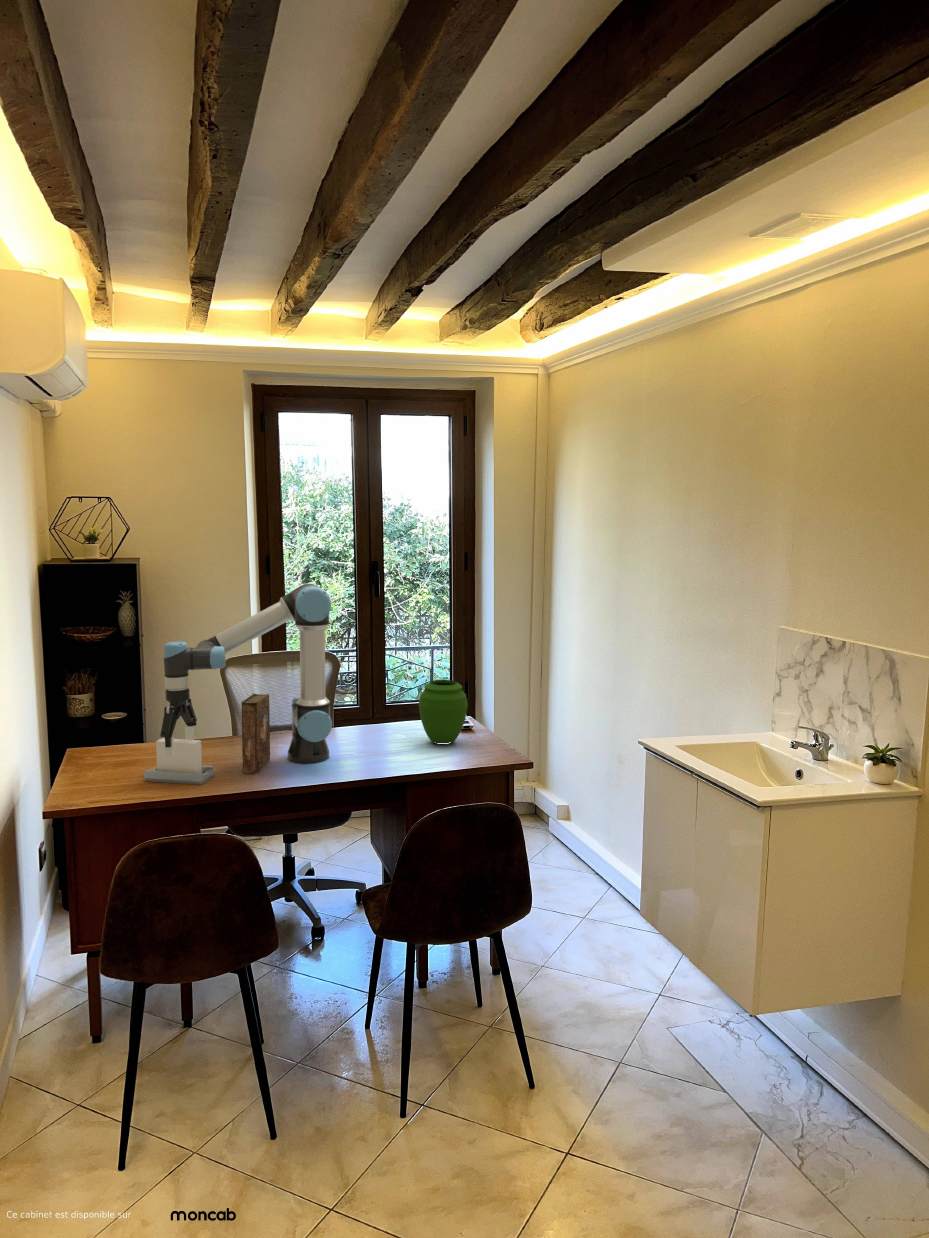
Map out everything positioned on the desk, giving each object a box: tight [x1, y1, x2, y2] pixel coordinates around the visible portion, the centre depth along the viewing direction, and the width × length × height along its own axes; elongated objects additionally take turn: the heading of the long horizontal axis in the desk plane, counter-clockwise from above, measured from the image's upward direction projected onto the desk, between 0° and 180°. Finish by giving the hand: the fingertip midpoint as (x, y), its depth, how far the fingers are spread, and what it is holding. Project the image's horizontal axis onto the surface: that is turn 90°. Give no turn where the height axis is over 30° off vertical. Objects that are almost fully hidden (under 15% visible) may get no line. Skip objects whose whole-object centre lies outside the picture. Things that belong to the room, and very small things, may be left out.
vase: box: [418, 679, 469, 743], centre depth 323 cm, size 20×20×24 cm
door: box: [155, 737, 203, 773], centre depth 275 cm, size 14×4×12 cm, turn 81°
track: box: [143, 764, 215, 786], centre depth 275 cm, size 20×10×4 cm, turn 81°
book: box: [241, 692, 271, 775], centre depth 287 cm, size 16×6×25 cm, turn 178°
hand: (180, 750), depth 274 cm, fingers open, 13 cm apart
